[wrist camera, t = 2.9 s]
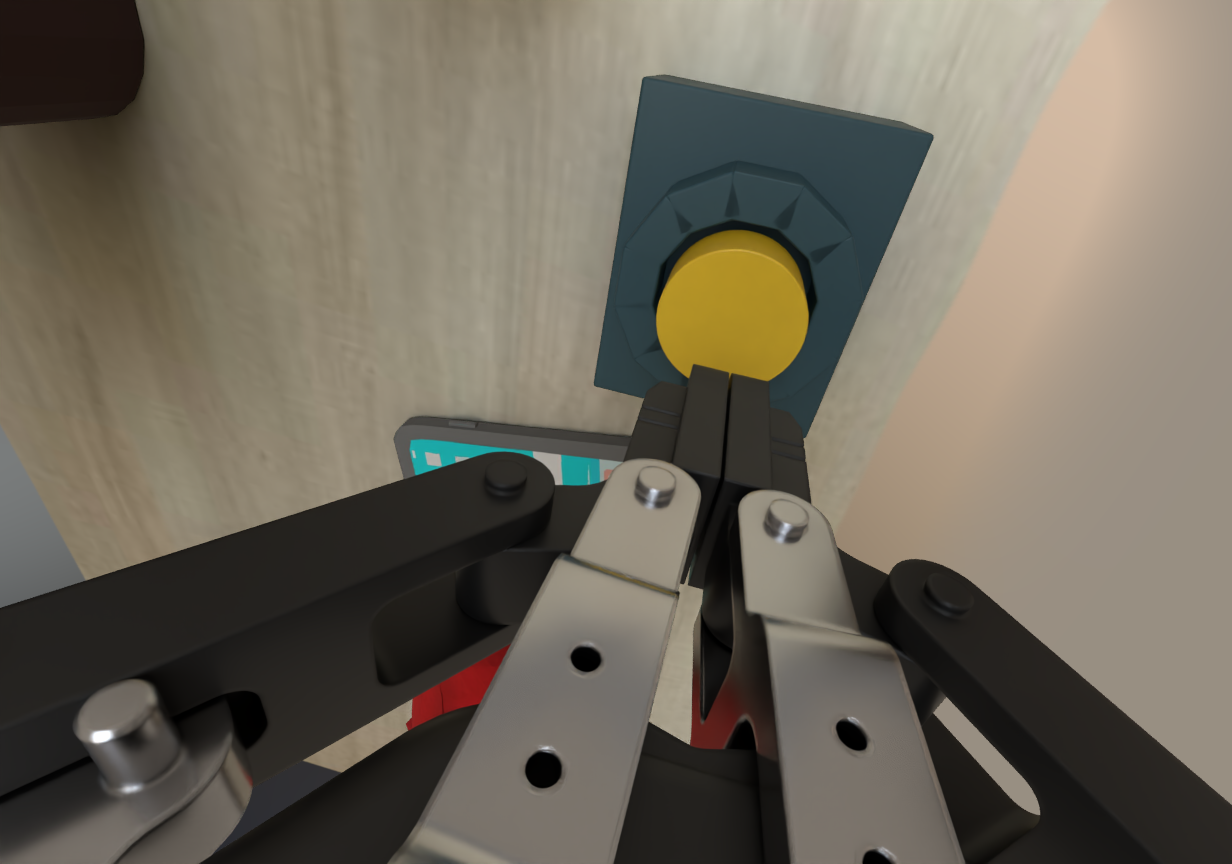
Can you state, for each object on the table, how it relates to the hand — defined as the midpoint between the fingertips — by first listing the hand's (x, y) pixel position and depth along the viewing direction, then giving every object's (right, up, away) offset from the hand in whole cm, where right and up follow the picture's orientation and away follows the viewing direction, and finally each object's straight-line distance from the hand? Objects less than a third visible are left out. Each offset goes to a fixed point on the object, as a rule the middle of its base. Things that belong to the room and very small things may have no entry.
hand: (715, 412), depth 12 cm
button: (+1, +4, +5) cm, 7 cm away
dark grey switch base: (+3, +6, +10) cm, 12 cm away
